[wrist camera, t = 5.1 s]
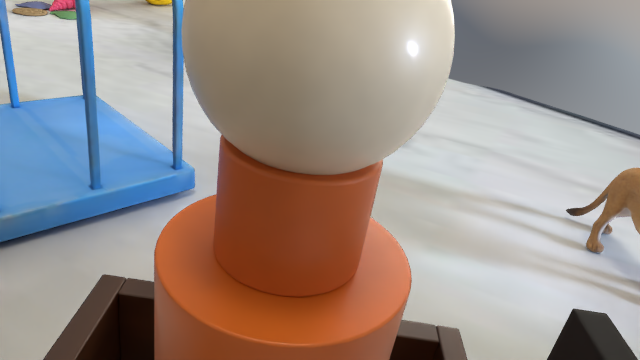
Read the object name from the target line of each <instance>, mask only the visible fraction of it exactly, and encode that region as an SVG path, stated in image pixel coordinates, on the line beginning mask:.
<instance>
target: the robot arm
mask: <svg viewBox="0 0 640 360" xmlns="http://www.w3.org/2000/svg"><path fill="white" fill-rule="evenodd" d="M547 360H638V359H637V358H636V356H635V355H634V353H633V352H632V350H631V349H630V347H629V346H628V345H627V343H626V342H625V340H624V339H623V337H622V336H621V334H620V333H619V331H618V330H617V328H616V327H615V326H614V324H613V323H612V321H611V320H610V318H609V317H608V315H607V314H605V313H599V312H592V311H585V310H579V309H573V310H572V312H571V314H570V316H569V318H568V320H567V322H566V323H565V325H564V327H563V329H562V331H561V333H560V335H559V337H558V339H557V341H556V343H555V345H554V347H553V349H552V351H551V353H550V355H549V357H548V359H547Z"/></svg>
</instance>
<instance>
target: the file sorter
mask: <svg viewBox="0 0 640 360" xmlns="http://www.w3.org/2000/svg"><path fill="white" fill-rule="evenodd" d="M75 6H76V17H77V29H78V40H79V53H80V65H81V77H82V89H83V95H81V96H72V97H63V98H53V99H44V100H35V101H26V102H19V98H18V91H17V83H16V76H15V69H14V62H13V55H12V48H11V41H10V32H9V25H8V17H7V10H6V4H5V0H0V33H1V40H2V47H3V54H4V60H5V67H6V74H7V80H8V87H9V93H10V100H11V103H8V104H0V242H2V241H6V240H10V239H13V238H17V237H21V236H24V235H28V234H31V233H35V232H38V231H42V230H45V229H49V228H53V227H56V226H60V225H63V224H67V223H71V222H74V221H78V220H82V219H85V218H89V217H93V216H96V215H100V214H103V213H107V212H111V211H114V210H118V209H121V208H125V207H128V206H132V205H135V204H139V203H143V202H146V201H150V200H153V199H157V198H160V197H164V196H168V195H171V194H175V193H178V192H182V191H185V190H190V189H193V188H194V187H195V170H194V168H193V167H192V166H190V165H189V164H188V163H186V162H185V161H184V160H182V125H183V60H184V56H183V49H182V19H183V0H172V6H173V152H172V151H170V150H169V149H168V148H166V147H165V146H163V145H162V144H161V143H159V142H158V141H157V140H155V139H154V138H153V137H151V136H150V135H149V134H147V133H146V132H145V131H143V130H142V129H141V128H139V127H138V126H137V125H135V124H134V123H132V122H131V121H130V120H128V119H127V118H126V117H124V116H123V115H122V114H120V113H119V112H118V111H116V110H115V109H114V108H112V107H111V106H109V105H108V104H107V103H105V102H104V101H103V100H101V99H100V98H99V97H98V96H96V88H95V71H94V55H93V41H92V27H91V14H90V6H89V0H75Z"/></svg>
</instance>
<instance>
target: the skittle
mask: <svg viewBox="0 0 640 360" xmlns="http://www.w3.org/2000/svg"><path fill="white" fill-rule="evenodd" d="M454 39H455V32H454V15H453V10H452V4H451V0H186V1H185V5H184V9H183V19H182V49H183V56H184V61H185V67H186V72H187V75H188V78H189V81H190V84H191V87H192V90H193V92H194V94H195V96H196V98H197V100H198V102H199V104H200V106H201V108H202V109H203V111H204V112H205V114H206V115H207V117H208V118H209V120H210V121H211V123H212V124H213V125H214V126H215V127H216V128H217V130H218V131H219V132H220V133H221V134H222V135H221V138H220V150H219V165H218V181H217V194H216V195H213V196H209V197H207V198H204V199H202V200H199V201H197V202H195V203H193V204H191V205H189V206H188V207H186V208H184V209H183V210H182V211H180V212H179V213H178V214H176V215H175V216H174V217H173V218H172V219H171V220H170V221H169V222H168V223H167V225H166V226H165V227H164V229H163V230H162V232H161V234H160V236H159V238H158V240H157V243H156V248H155V254H154V360H389V359H390V355H391V352H392V349H393V345H394V342H395V339H396V336H397V332H398V329H399V326H400V323H401V319H402V316H403V313H404V310H405V306H406V303H407V300H408V297H409V293H410V289H411V270H410V266H409V263H408V259H407V257H406V255H405V253H404V251H403V249H402V248H401V246H400V245H399V243H398V242H397V240H396V239H395V238H394V237H393V236H392V235H391V234H390V233H389V232H388V231H387V230H386V229H385V228H384V227H383V226H382V225H380V224H379V223H378V222H376V221H375V220H374V219H372V218H371V217H370V216H371V212H372V208H373V203H374V199H375V195H376V191H377V187H378V182H379V178H380V174H381V170H382V165H383V159H384V158H386V157H387V156H389V155H391V154H392V153H394V152H395V151H396V150H398V149H399V148H400V147H401V146H402V145H404V144H405V143H406V142H407V141H409V140H410V139H411V138H412V137H413V136H414V135H415V134H416V133H417V131H418V130H419V129H420V128H421V127H422V126H423V125H424V123H425V122H426V120H427V119H428V117H429V116H430V114H431V113H432V112H433V110H434V108H435V107H436V105H437V103H438V101H439V99H440V97H441V95H442V93H443V91H444V88H445V85H446V82H447V80H448V77H449V74H450V68H451V64H452V59H453V52H454Z"/></svg>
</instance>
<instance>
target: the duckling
mask: <svg viewBox="0 0 640 360" xmlns="http://www.w3.org/2000/svg"><path fill="white" fill-rule="evenodd" d="M146 1H147V2H149V3H151V4H154V5H167V4H171V3H172V0H146Z"/></svg>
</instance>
